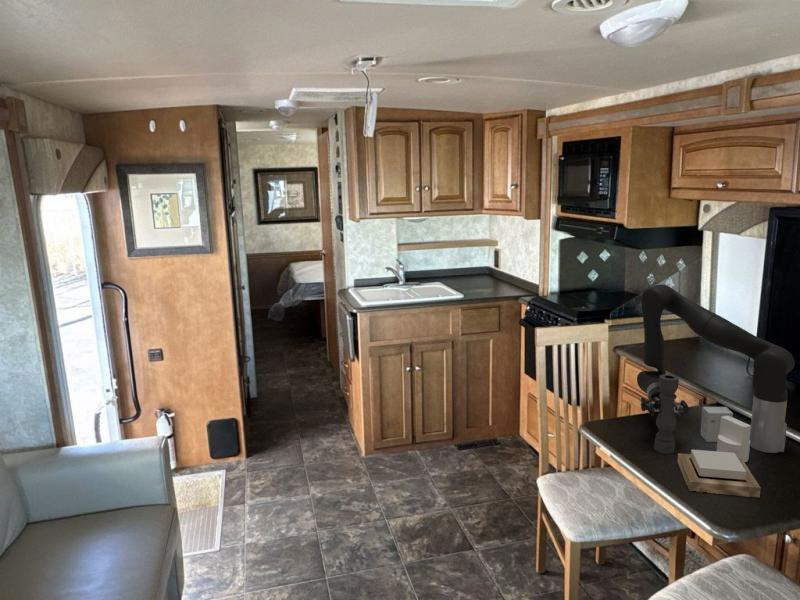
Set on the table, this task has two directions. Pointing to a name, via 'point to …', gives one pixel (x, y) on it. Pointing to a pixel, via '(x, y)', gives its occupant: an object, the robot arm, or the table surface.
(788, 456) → the table surface
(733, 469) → the platform
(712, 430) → the small box
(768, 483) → the table surface
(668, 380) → the candle holder
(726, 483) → the stand
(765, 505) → the table surface
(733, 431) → the cylinder with rectangular tab
